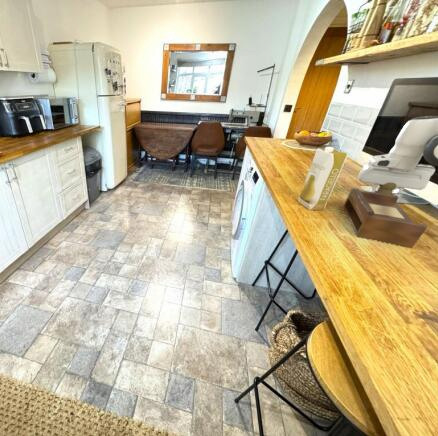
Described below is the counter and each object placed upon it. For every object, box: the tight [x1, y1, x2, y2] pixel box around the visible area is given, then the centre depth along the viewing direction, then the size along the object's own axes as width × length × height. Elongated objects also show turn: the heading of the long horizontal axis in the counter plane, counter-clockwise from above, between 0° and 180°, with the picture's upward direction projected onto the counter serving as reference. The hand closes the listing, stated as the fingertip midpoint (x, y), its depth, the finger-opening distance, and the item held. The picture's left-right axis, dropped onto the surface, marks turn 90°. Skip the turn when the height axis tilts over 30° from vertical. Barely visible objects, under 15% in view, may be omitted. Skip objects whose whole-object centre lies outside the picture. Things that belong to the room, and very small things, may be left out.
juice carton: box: [297, 146, 349, 211], centre depth 93 cm, size 9×8×24 cm
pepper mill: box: [377, 183, 397, 195], centre depth 97 cm, size 6×6×11 cm
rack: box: [342, 187, 428, 249], centre depth 84 cm, size 14×24×9 cm, turn 154°
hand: (382, 195), depth 97 cm, fingers closed on pepper mill, 4 cm apart
